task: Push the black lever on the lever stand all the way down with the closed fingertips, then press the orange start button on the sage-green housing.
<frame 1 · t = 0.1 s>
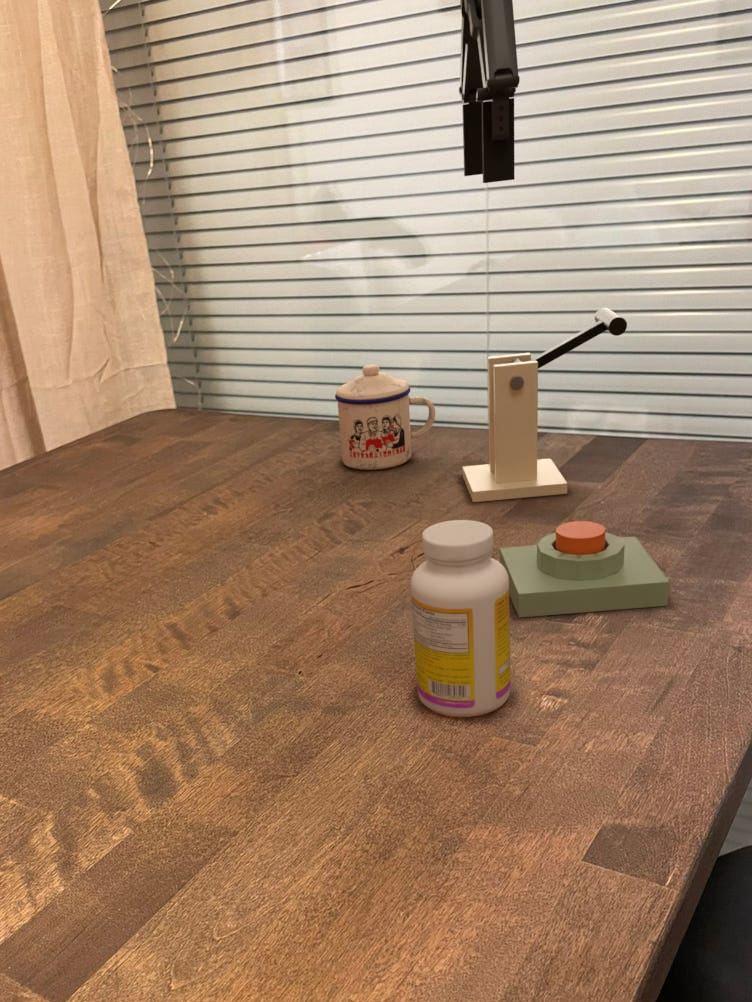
hand: (487, 178, 97), 32 cm above the table, tool pointing down, fingers open, 13 cm apart
black lever: (558, 350, 105), point 14 cm above the table, hinge at 25.0°
start button: (580, 539, 85), point 4 cm above the table, slide at 0.1 cm
button box: (578, 587, 87), on the table
lever stand: (512, 484, 112), on the table
teacup with lid: (388, 460, 125), on the table
supplement bottle: (463, 699, 73), on the table
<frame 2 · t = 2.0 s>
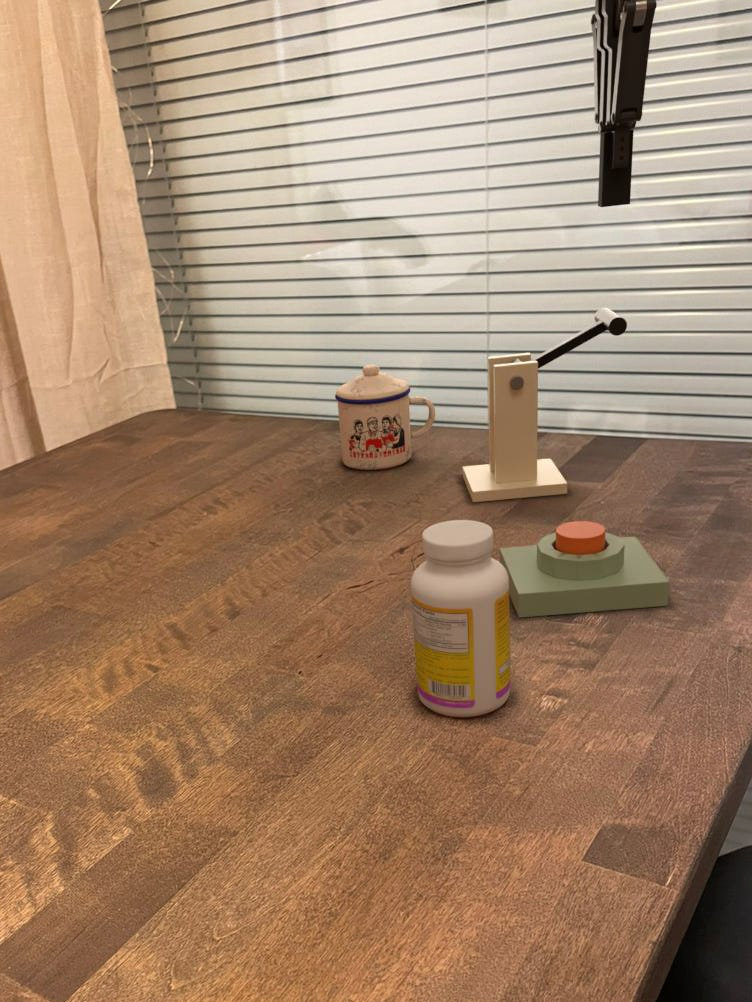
hand: (613, 204, 98), 28 cm above the table, tool pointing down, fingers closed
nothing on the table moved.
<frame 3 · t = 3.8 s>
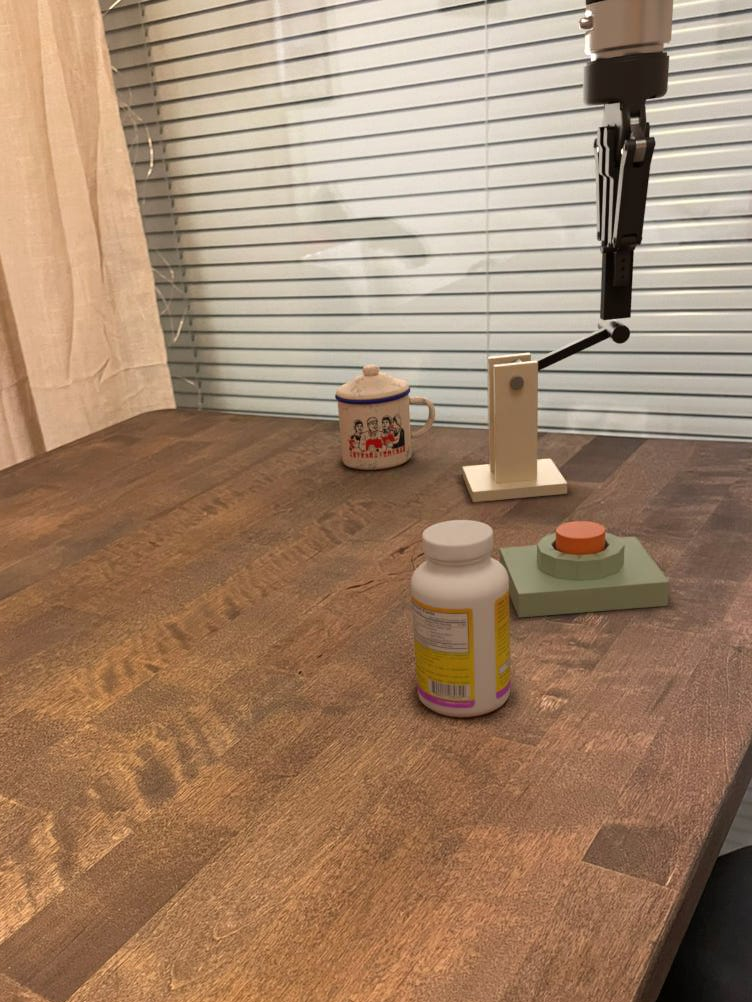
hand: (615, 317, 103), 17 cm above the table, tool pointing down, fingers closed
black lever: (560, 354, 105), point 14 cm above the table, hinge at 20.3°
everything else where it was.
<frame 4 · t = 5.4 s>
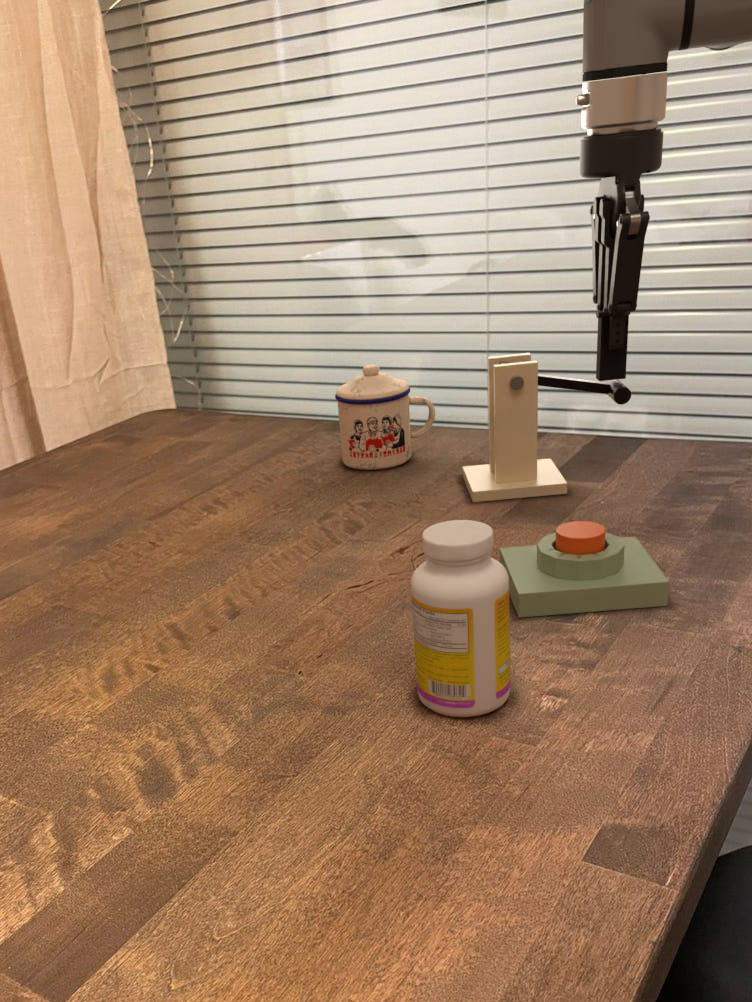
hand: (610, 378, 106), 11 cm above the table, tool pointing down, fingers closed
black lever: (561, 382, 106), point 11 cm above the table, hinge at -12.8°, touching gripper
everything else where it was.
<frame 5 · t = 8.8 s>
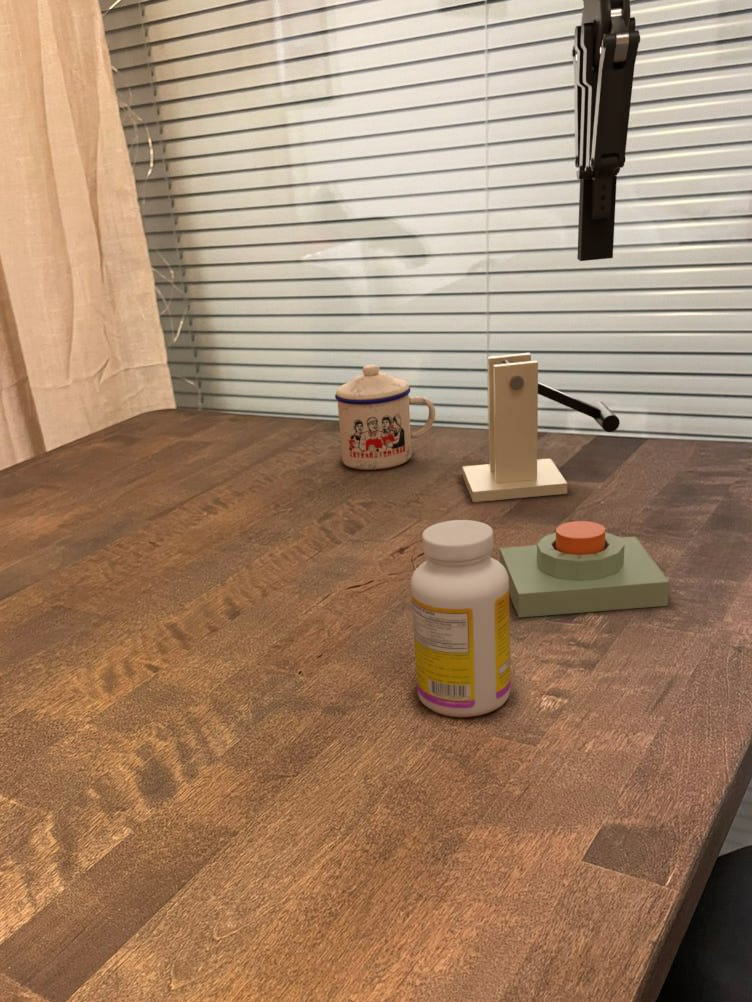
hand: (594, 258, 88), 25 cm above the table, tool pointing down, fingers closed
black lever: (556, 395, 107), point 9 cm above the table, hinge at -28.5°
everything else where it was.
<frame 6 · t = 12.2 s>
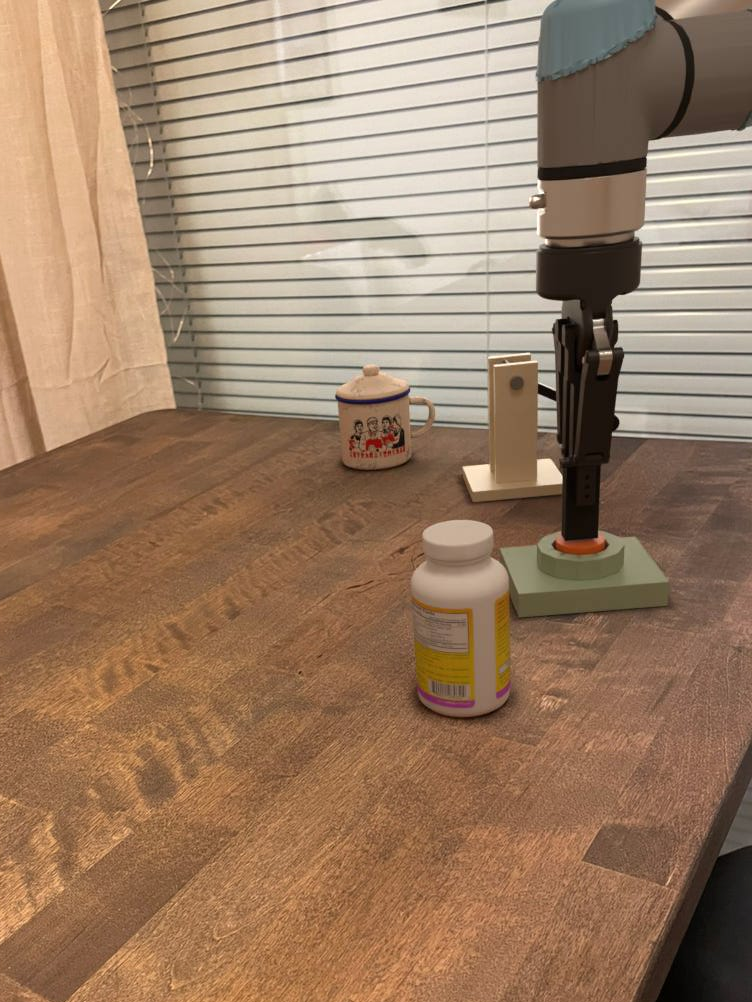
hand: (579, 536, 85), 5 cm above the table, tool pointing down, fingers closed
start button: (580, 548, 85), point 4 cm above the table, slide at -0.8 cm, touching gripper
everything else where it was.
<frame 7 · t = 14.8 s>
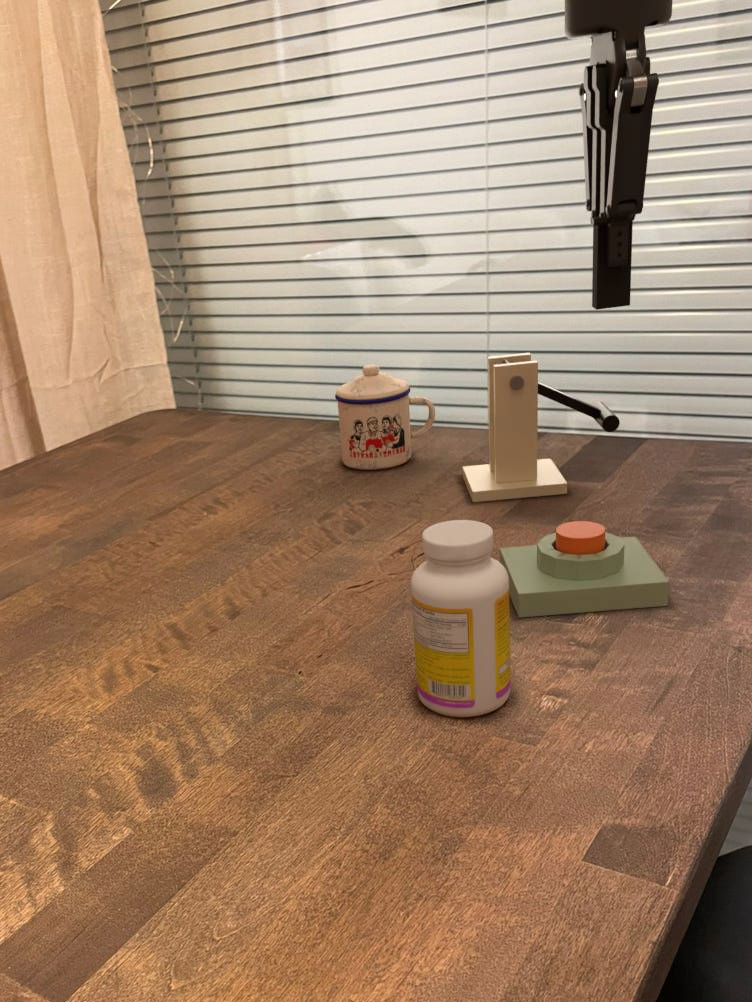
hand: (610, 305, 83), 22 cm above the table, tool pointing down, fingers closed
start button: (580, 539, 85), point 4 cm above the table, slide at 0.1 cm
everything else where it was.
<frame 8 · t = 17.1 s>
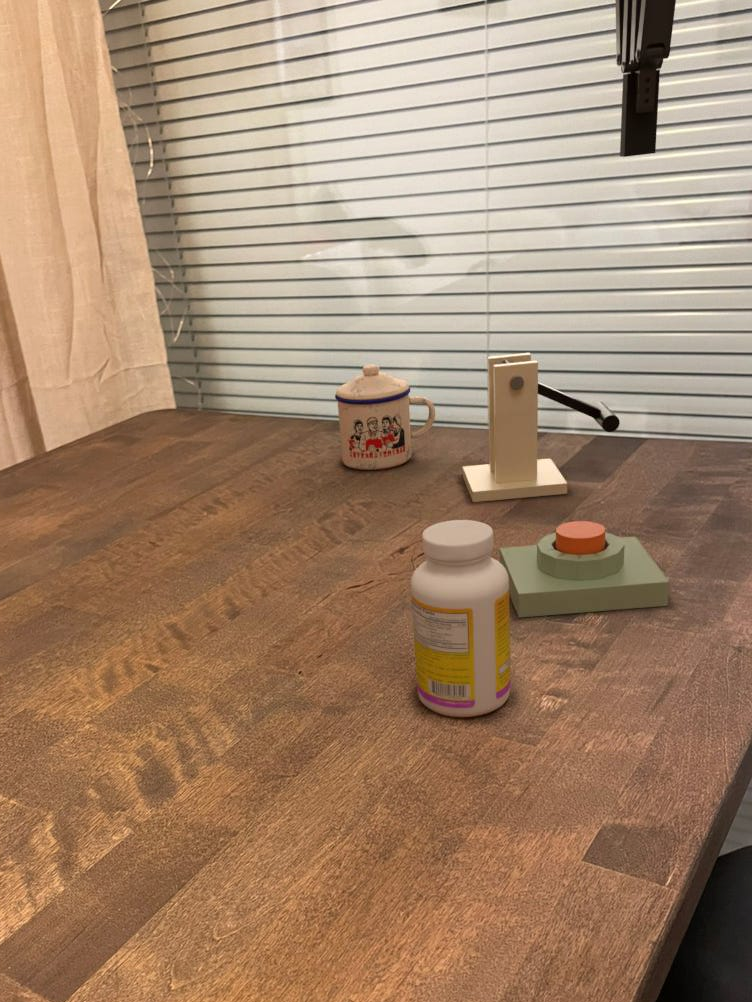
hand: (637, 154, 90), 32 cm above the table, tool pointing down, fingers closed
nothing on the table moved.
at the end: black lever at -28° (first picture: +25°); start button pushed in 1.0 cm at the most during the clip, back to where it started at the end; start button slide at 0.1 cm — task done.
